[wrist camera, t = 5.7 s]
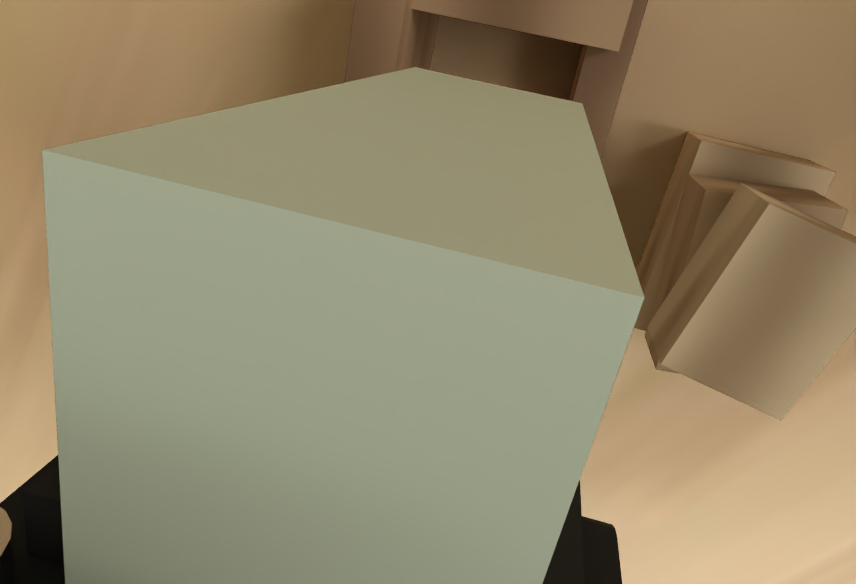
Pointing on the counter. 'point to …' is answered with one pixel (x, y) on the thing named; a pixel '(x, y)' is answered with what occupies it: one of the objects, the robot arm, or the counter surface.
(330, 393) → the sage green brick
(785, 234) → the offcut top
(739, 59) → the counter surface
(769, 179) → the block
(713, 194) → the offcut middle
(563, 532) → the robot arm
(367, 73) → the rack
